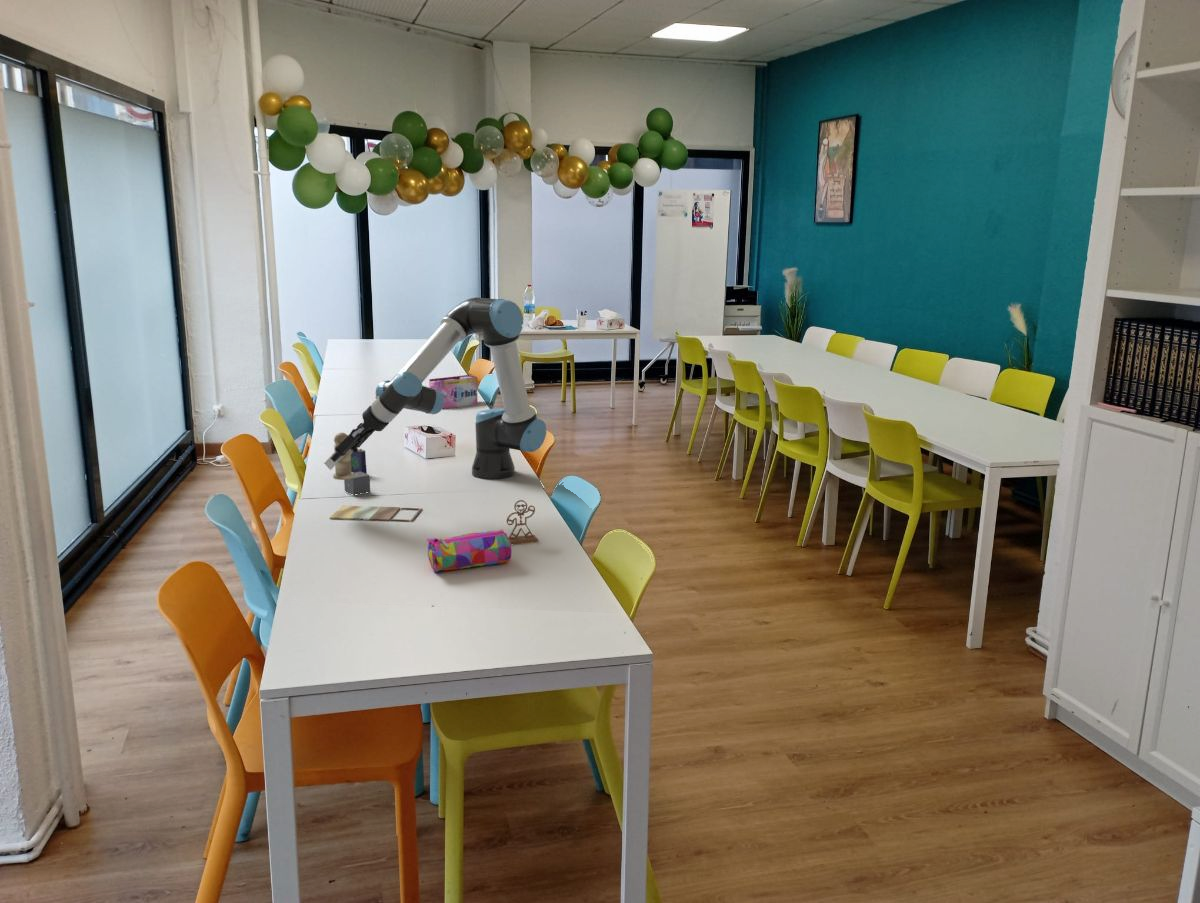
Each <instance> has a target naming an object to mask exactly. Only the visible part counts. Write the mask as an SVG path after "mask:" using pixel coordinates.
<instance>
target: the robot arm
mask: <svg viewBox="0 0 1200 903" xmlns="http://www.w3.org/2000/svg"><path fill="white" fill-rule="evenodd" d="M522 325H524V316H523V313H522V310H521V309H520V307H519V306H518V304H517V303H515V302H514V301H511V300H509V299H508V300H507V299H504V298H486V297H484V298H483V297H471V298H468V299H466V300H464V301H462V302H461V303H458V304H457V305H455V306H454V307H453V308H452V309H451V310H450V311H449V312H448V313H446V315H445V316H444V317H443V318H442V319H441V321H440V326H439V327H438V328H437V329H436V330H435V331H434V333H433V334H431V335H430V337H429V338H428V339H427V340H426V342H424V344H423V345H422V346H421V347H419V349H418V350H417V352H415V353H414V354H413V356H412V357H411V358H410V359H409V360H408V361H407V362H406V364H404V366H403V367H402V368H401V369H400V370H399V371H398V373H396V375H395V376H393V378H392V379H391V380H389V379H388V380H382V381H381V382H379V383H378V384H377V386H376V388H375V400H374V401H373V402H372V403H371V405H369V406H368V407H367V408H366V409H365V410H364V411H363V413H362V415H361V416H362V420H363V422H360V423H358V425H357V426H356V428H353V429H352V430H351V432H349V434H347V435H348V436H347V437H346V438H345V439H344V440H343V442H342V443H341V444H340V445H339V446H338V447H335V452H334V451H333V453H332V454H331V455H330V457H328V458H327V459H326V461H325V462H324V463H323V464H324V465H325V466H326V467H327V469H329V470H330V471H331V470H333V469H334V468H335V465H336V464H337V463H338V462H339V461H340V460H341V459H342V458H343V457H344V456H345V455H344V454H345V453H346V452H347V451H348V450H349V449H350V454H351V453H352V452H353V451H354V452H357V451H358V450H357V449H356V448H358V449H360V447H362V445H363V444H364V442H366V440H368V439H369V438H370V436H371V435H373V433H374V432H382V431H383V430H385V428H387V426H388V425H389V424H390V423H391V422H392V421H393V420H394V419H395V418H396V417H397V416H398V415H399V414H400V413H401V412H402V411H403V409H406V410H410V411H411V410H412V411H416V412H421V413H425V414H430V415H437V414H439V413H440V412H441V411H442V408H443V405H444V396H443V394H442V393H441V392H440V391H437V390H435V389H432V388H429V386H426V385H423V384H422V383H423V382H424V381H426V379H427V378H428V377H429V375H430V374H431V373H432V372H433V371H434V370H435V369H436V367H438V365H439V364H440V363H441V362H442V361H443V360H444V359H445V357H447V355H448V354H449V353H450V352H451V351H452V349H454V348H455V346H456V345H457V344H458V343H459V342H463V341H465V339H466V338H467V337H468V336H471V335H474V334H478V335H482V339H483V343H484V345H485V346H486V347H488V348H489V349H490V353H491V356H492V357H491V358H492V362H493V365H494V366H493V367H494V370H495V374H496V379H497V384H498V387H499V392H500V397H501V400H502V404H503V408H501V407H500V408H490V409H484V410H480V411H478V412H477V413H476V415H475V423H474V424H475V444H476V447H475V448H476V453H475V456H474V459H473V462H472V466H471V475H472V476H473V475H474V476H473V477H475V476H476V478H480V479H486V480H487V479H488V480H490V479H491V480H492V479H493V480H498V479H505V477H506V478H509V476H510V477H512V476H514V475H515V474H514V473H516V472H515V468H516V467H515V464H514V461H513V458H512V454H511V452H510V449H512V450H516V451H521V452H524V453H525V452H526V453H533V452H536V451H539V449H540V448H541V447H542V446H543V444H544V442H545V439H546V436H547V425H546V423H545V421H544V420H542V419H541V418H538V417H537V413H536V409H535V407H533V406H530V401H529V397H528V396H529V395H528V393H527V388H526V384H525V379H524V374H523V368H522V365H521V359H520V356H519V349H518V347H517V341H518V340H519V338H520V334H521V333H522V330H523V328H524V327H523V326H522ZM352 450H353V451H352ZM513 474H514V475H513Z"/></svg>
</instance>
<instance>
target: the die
mask: <svg viewBox="0 0 1200 903" xmlns="http://www.w3.org/2000/svg"><path fill="white" fill-rule="evenodd" d="M370 476H371V475H370V474H369V473H367V474H366V473H363V472H361V471H360V472H355V473H354V477H353V478H351V479H346V480H343V481H344V482H343V484H344V492H345V491H346V492H348V493H351V494H353V495H355V494H360V493H366V492H370V493H371V480H370V479H371V478H370ZM346 492H345V493H346ZM348 493H347V494H348ZM351 494H350V495H351ZM366 494H367V493H366ZM353 495H352V496H353Z"/></svg>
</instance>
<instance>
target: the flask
mask: <svg viewBox="0 0 1200 903" xmlns="http://www.w3.org/2000/svg"><path fill="white" fill-rule="evenodd" d="M356 449H357V450H358V451H357V452H354V451H353V450H352V451H353V452H352V453H351V454H350V455H351V472H353V473H355V472H360V471H361V472H363V473H366V474H368V473H367V471H368V470H367V458H366V457H367V456H366V450H365V449H362V448H356Z"/></svg>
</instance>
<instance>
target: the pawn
mask: <svg viewBox="0 0 1200 903" xmlns="http://www.w3.org/2000/svg"><path fill="white" fill-rule="evenodd" d="M348 435H349V434H346V433H345V432H339V433H337V434H335V436H334V438H333V441H334V445H333V450H334V451H333V453H334V452H335V447H338V446H339V445H340V444H341V443H342V442H343V440H344V439H345V438H346V437H347V436H348ZM344 455H345V456H344V457H343V458H342V459H341V460H340V461H339V462H338V463H337V464H336V465H335V466H334V468H335V473H333V475H332V478H333V479H334V480H339V481H340V480H341V481H344V480H346V479H351V478H353V477H354V473H353V472H351V455H350V449H349V450H348V451H347V452H346V453H345V454H344Z"/></svg>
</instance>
